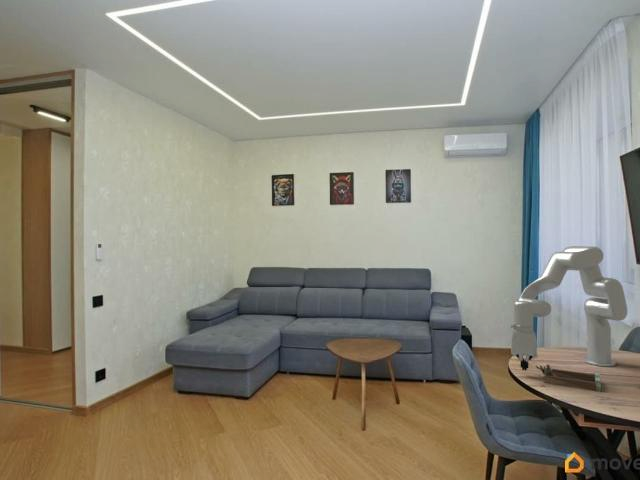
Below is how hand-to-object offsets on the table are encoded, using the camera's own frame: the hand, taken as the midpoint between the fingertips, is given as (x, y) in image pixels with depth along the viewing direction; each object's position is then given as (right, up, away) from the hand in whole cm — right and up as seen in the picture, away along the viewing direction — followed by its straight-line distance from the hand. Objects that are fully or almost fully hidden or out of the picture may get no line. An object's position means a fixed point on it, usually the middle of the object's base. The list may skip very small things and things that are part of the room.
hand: (524, 369), depth 175 cm
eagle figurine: (+8, -3, -5) cm, 10 cm away
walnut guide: (+14, -2, -9) cm, 17 cm away
